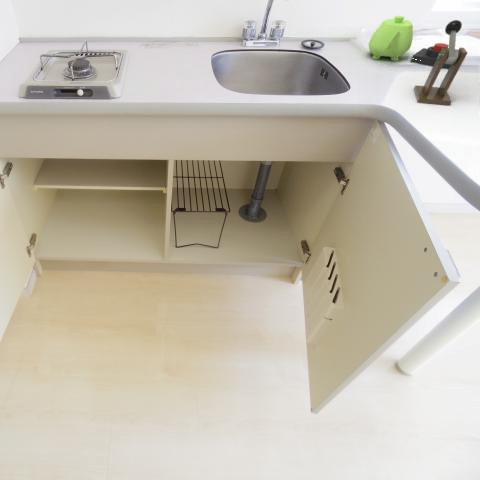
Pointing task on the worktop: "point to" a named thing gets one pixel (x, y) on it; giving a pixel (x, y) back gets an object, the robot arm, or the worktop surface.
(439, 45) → the button
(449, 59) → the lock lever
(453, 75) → the brown wooden stand
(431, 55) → the button box
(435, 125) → the worktop surface
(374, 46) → the teapot
